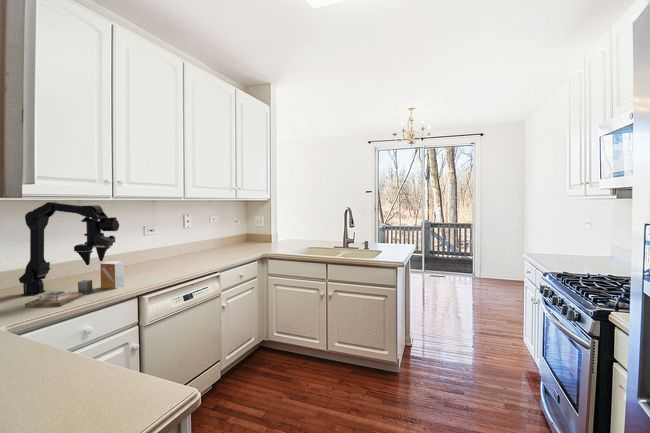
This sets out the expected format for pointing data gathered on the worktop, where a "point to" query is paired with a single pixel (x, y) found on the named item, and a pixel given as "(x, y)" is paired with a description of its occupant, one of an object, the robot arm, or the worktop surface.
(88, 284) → the steel pin
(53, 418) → the worktop surface
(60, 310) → the worktop surface
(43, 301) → the holder board
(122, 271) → the small box
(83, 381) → the worktop surface
